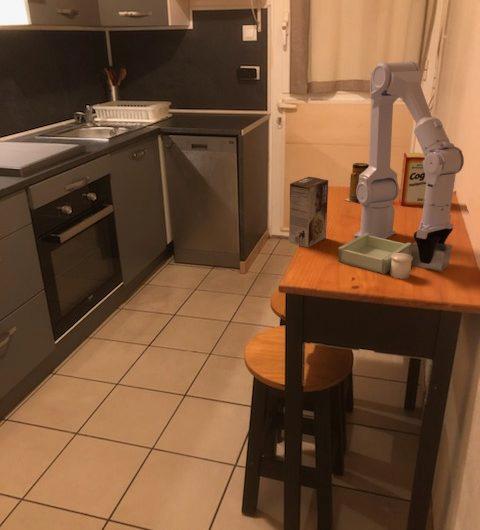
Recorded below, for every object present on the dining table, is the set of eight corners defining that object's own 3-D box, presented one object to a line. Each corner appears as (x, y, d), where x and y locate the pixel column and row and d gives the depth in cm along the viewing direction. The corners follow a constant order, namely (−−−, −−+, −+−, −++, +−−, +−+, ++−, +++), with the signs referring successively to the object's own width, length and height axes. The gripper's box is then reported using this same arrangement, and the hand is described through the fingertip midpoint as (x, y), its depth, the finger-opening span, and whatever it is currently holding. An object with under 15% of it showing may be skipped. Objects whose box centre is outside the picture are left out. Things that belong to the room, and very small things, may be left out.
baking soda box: (428, 201, 167) (435, 152, 161) (431, 207, 161) (438, 156, 155) (399, 200, 169) (404, 152, 163) (400, 206, 163) (406, 156, 157)
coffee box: (306, 233, 141) (308, 176, 134) (326, 238, 137) (329, 179, 131) (287, 242, 134) (288, 182, 128) (308, 248, 131) (310, 186, 124)
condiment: (354, 195, 175) (357, 161, 170) (377, 200, 170) (380, 164, 165) (343, 200, 170) (345, 164, 165) (366, 204, 165) (369, 168, 160)
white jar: (394, 269, 117) (396, 251, 115) (413, 274, 114) (416, 256, 113) (385, 275, 114) (387, 257, 112) (405, 281, 111) (407, 262, 109)
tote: (364, 245, 131) (365, 232, 130) (410, 257, 124) (411, 243, 122) (337, 261, 122) (338, 247, 120) (384, 274, 114) (386, 260, 113)
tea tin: (417, 258, 123) (420, 238, 121) (448, 265, 119) (451, 245, 117) (409, 264, 120) (411, 244, 118) (441, 272, 115) (444, 251, 113)
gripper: (442, 213, 106) (434, 273, 111) (467, 198, 116) (458, 254, 121) (410, 207, 110) (403, 265, 115) (436, 193, 120) (429, 247, 125)
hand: (429, 259), depth 119 cm, fingers closed on tea tin, 5 cm apart
